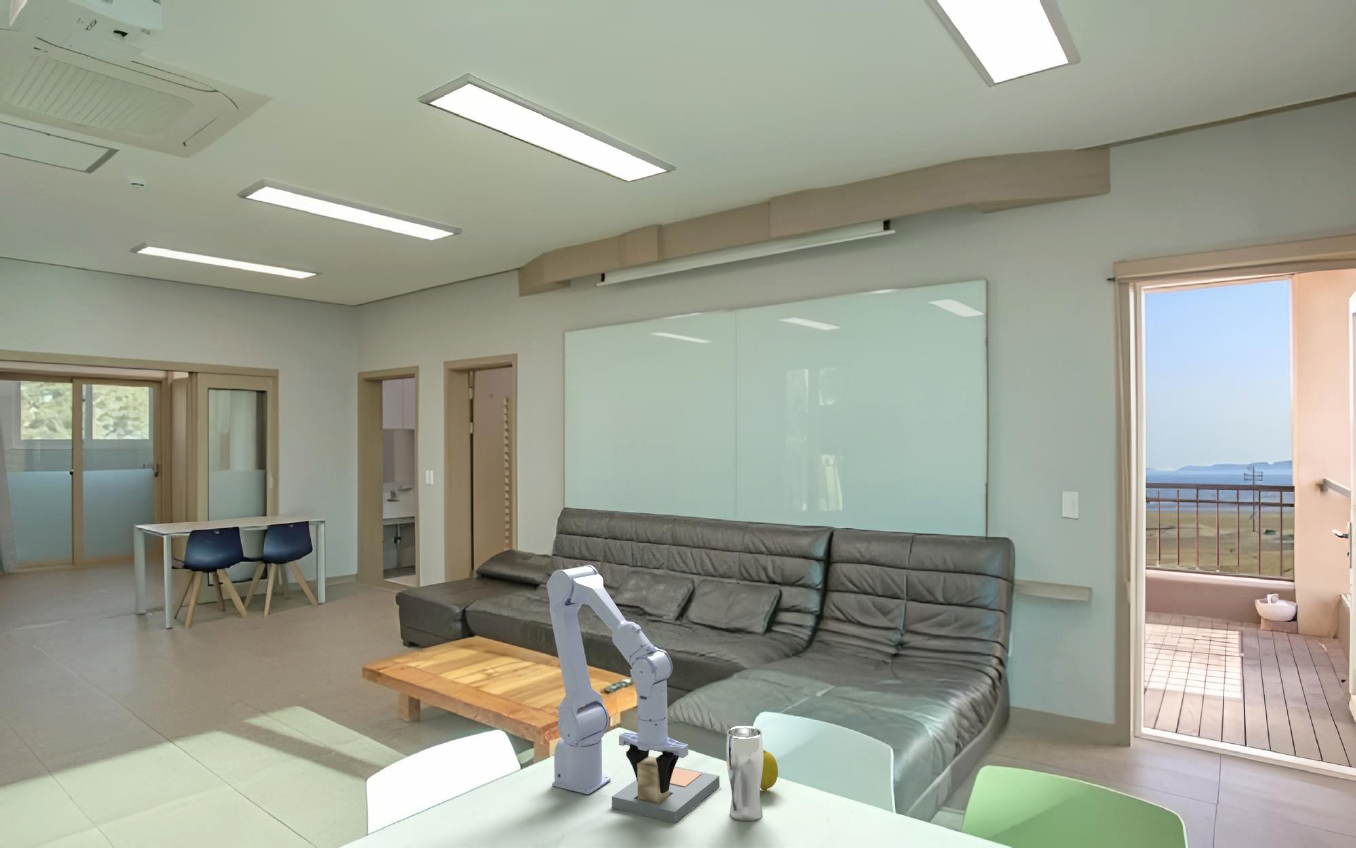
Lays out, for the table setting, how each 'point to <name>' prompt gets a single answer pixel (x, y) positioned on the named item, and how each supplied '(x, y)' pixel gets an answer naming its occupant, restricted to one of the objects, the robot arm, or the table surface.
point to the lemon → (768, 771)
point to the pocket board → (670, 795)
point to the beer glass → (745, 771)
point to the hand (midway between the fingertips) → (653, 788)
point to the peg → (649, 781)
